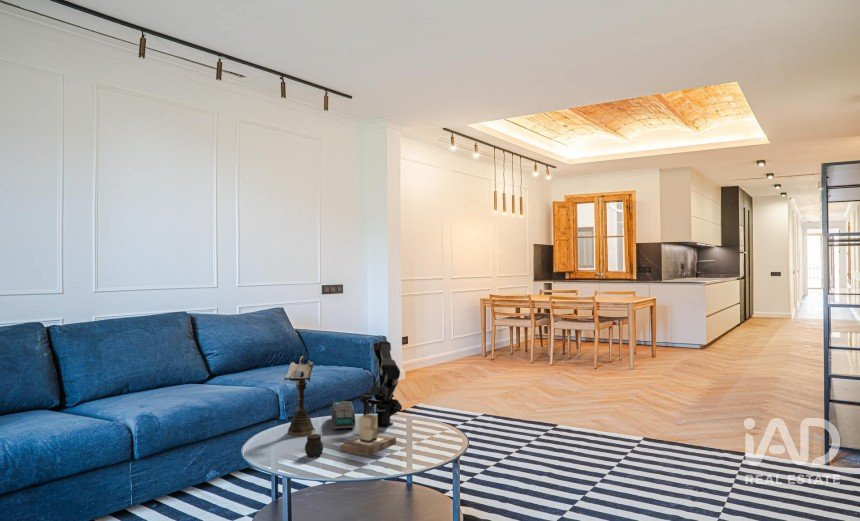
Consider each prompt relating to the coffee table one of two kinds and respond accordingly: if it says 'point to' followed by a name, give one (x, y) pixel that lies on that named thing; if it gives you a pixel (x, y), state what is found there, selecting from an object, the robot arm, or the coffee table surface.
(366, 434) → the tan rectangular block
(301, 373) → the book stand
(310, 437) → the mate gourd
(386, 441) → the loading dock
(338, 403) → the toy van
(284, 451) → the coffee table surface
